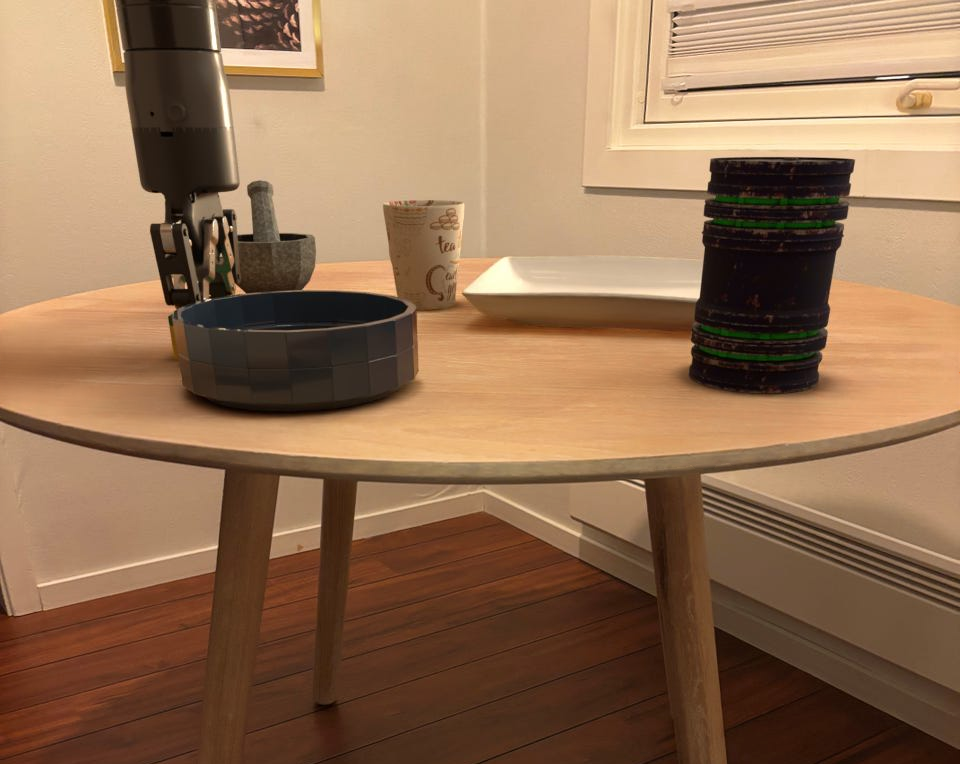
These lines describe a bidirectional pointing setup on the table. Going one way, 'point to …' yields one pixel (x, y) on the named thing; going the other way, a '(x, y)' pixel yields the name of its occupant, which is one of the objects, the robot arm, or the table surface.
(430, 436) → the table surface
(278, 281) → the mortar and pestle
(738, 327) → the storage jar
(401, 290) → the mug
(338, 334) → the bowl
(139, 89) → the robot arm
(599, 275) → the square plate
